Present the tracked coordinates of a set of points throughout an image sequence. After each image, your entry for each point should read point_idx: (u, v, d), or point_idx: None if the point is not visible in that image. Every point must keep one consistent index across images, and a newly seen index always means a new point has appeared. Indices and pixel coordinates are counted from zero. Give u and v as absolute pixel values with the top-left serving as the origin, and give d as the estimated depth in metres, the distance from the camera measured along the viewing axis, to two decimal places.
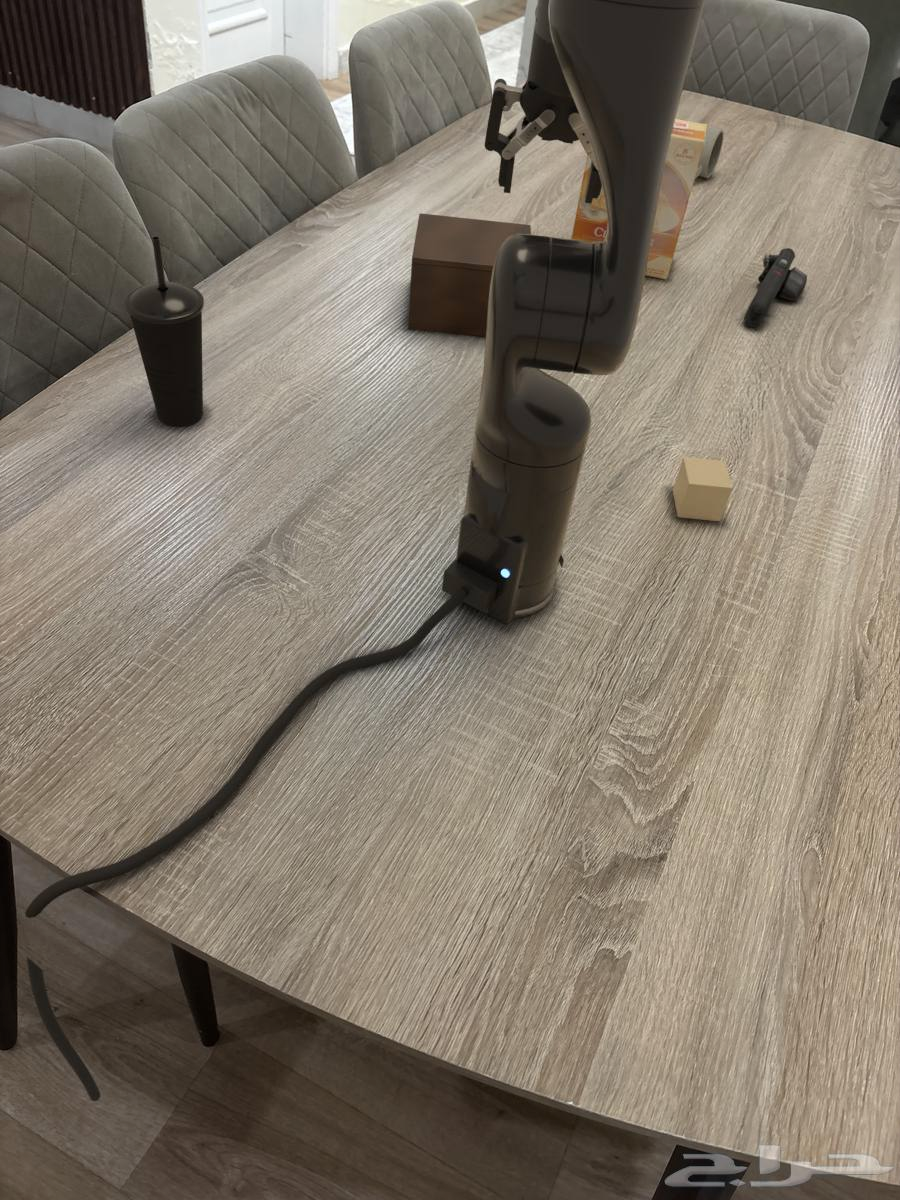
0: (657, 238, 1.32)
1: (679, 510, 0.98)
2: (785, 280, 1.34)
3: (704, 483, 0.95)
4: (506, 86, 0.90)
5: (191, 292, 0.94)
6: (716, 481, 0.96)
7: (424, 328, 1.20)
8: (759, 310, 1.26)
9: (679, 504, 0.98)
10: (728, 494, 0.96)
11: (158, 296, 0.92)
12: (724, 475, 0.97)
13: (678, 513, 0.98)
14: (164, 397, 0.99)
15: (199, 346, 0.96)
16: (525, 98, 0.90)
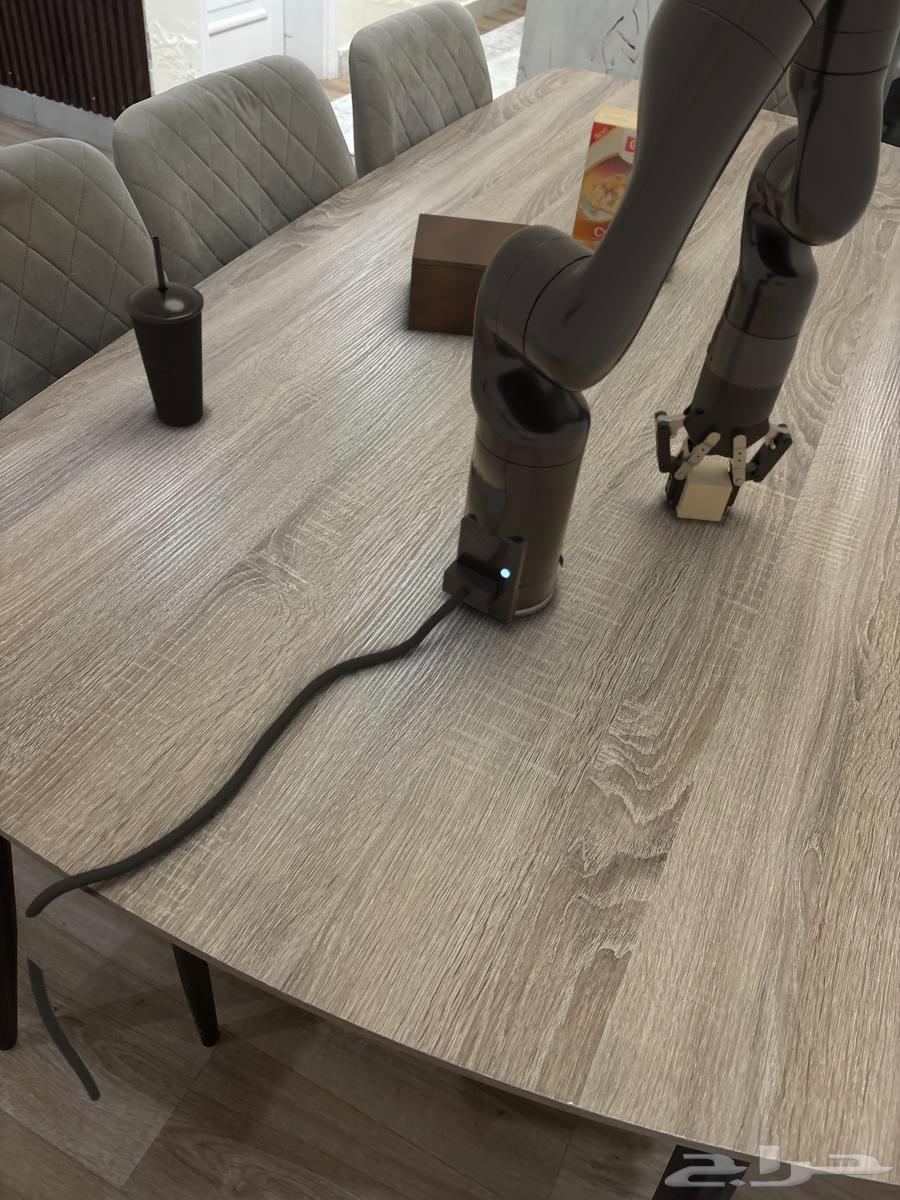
0: None
1: (679, 510, 0.98)
2: None
3: (704, 484, 0.95)
4: (667, 417, 0.92)
5: (191, 292, 0.94)
6: (716, 481, 0.96)
7: (424, 328, 1.20)
8: None
9: (679, 504, 0.98)
10: (728, 494, 0.96)
11: (158, 296, 0.92)
12: (724, 475, 0.97)
13: (678, 513, 0.98)
14: (164, 397, 0.99)
15: (199, 346, 0.96)
16: (689, 423, 0.91)
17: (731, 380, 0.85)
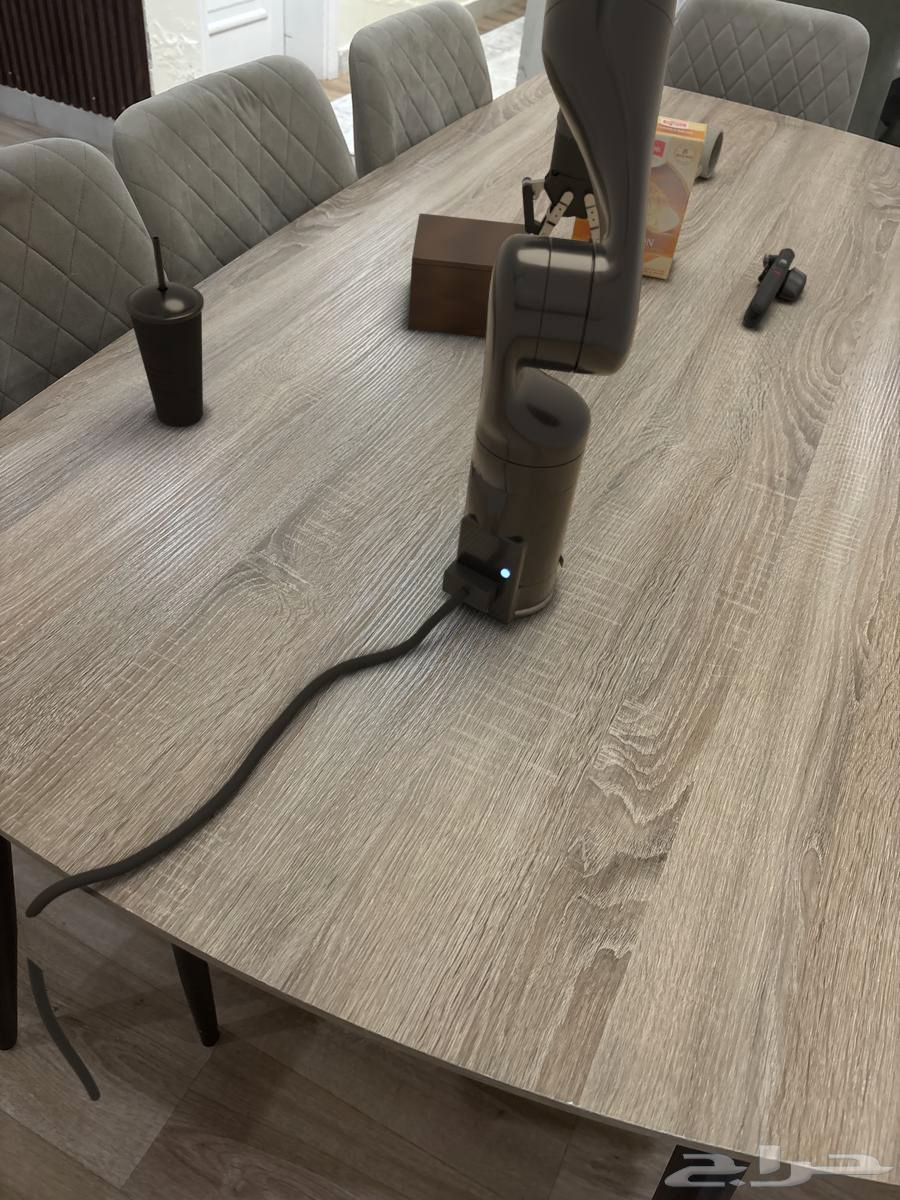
0: (657, 238, 1.32)
1: None
2: (785, 280, 1.34)
3: None
4: (531, 181, 1.12)
5: (191, 292, 0.94)
6: None
7: (424, 328, 1.20)
8: (758, 310, 1.26)
9: None
10: None
11: (158, 296, 0.92)
12: None
13: None
14: (164, 397, 0.99)
15: (199, 346, 0.96)
16: (548, 185, 1.12)
17: (573, 136, 1.06)
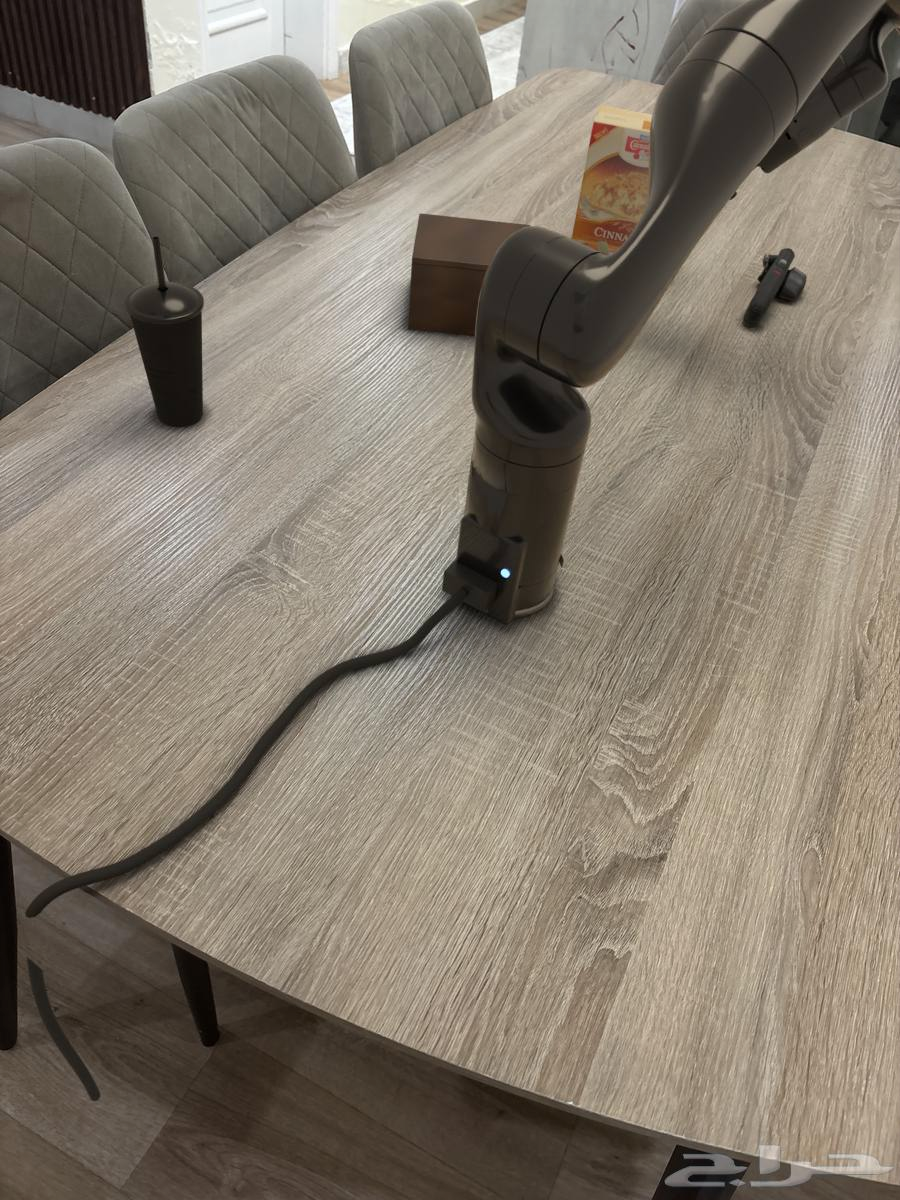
0: None
1: None
2: (784, 280, 1.34)
3: None
4: None
5: (191, 292, 0.94)
6: None
7: (424, 328, 1.20)
8: (758, 310, 1.26)
9: None
10: None
11: (158, 296, 0.92)
12: None
13: None
14: (164, 397, 0.99)
15: (199, 346, 0.96)
16: None
17: None
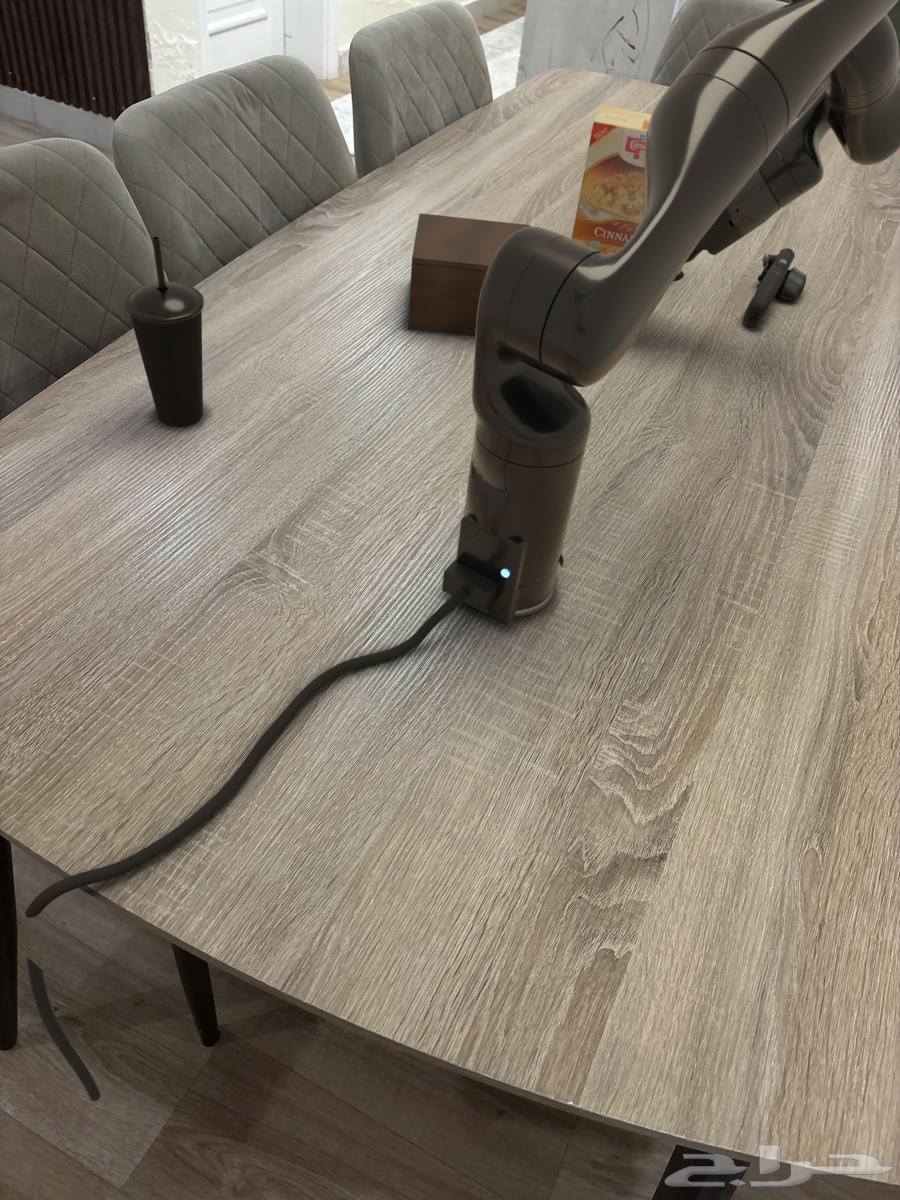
0: None
1: None
2: (784, 280, 1.34)
3: None
4: None
5: (191, 292, 0.94)
6: None
7: (424, 328, 1.20)
8: (758, 310, 1.26)
9: None
10: None
11: (158, 296, 0.92)
12: None
13: None
14: (164, 397, 0.99)
15: (199, 346, 0.96)
16: None
17: None
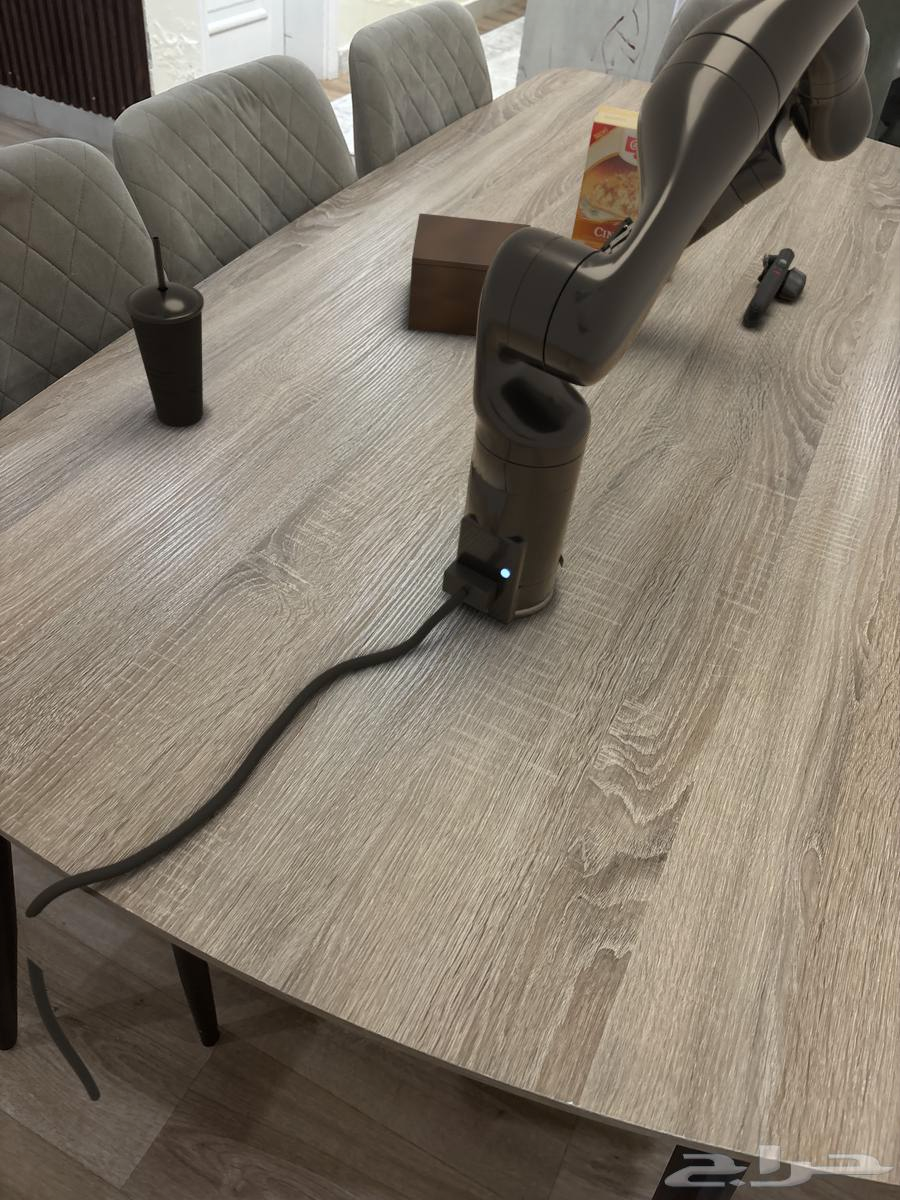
0: None
1: None
2: (784, 280, 1.34)
3: None
4: None
5: (191, 292, 0.94)
6: None
7: (424, 328, 1.20)
8: (758, 310, 1.26)
9: None
10: None
11: (158, 296, 0.92)
12: None
13: None
14: (164, 397, 0.99)
15: (199, 346, 0.96)
16: None
17: None
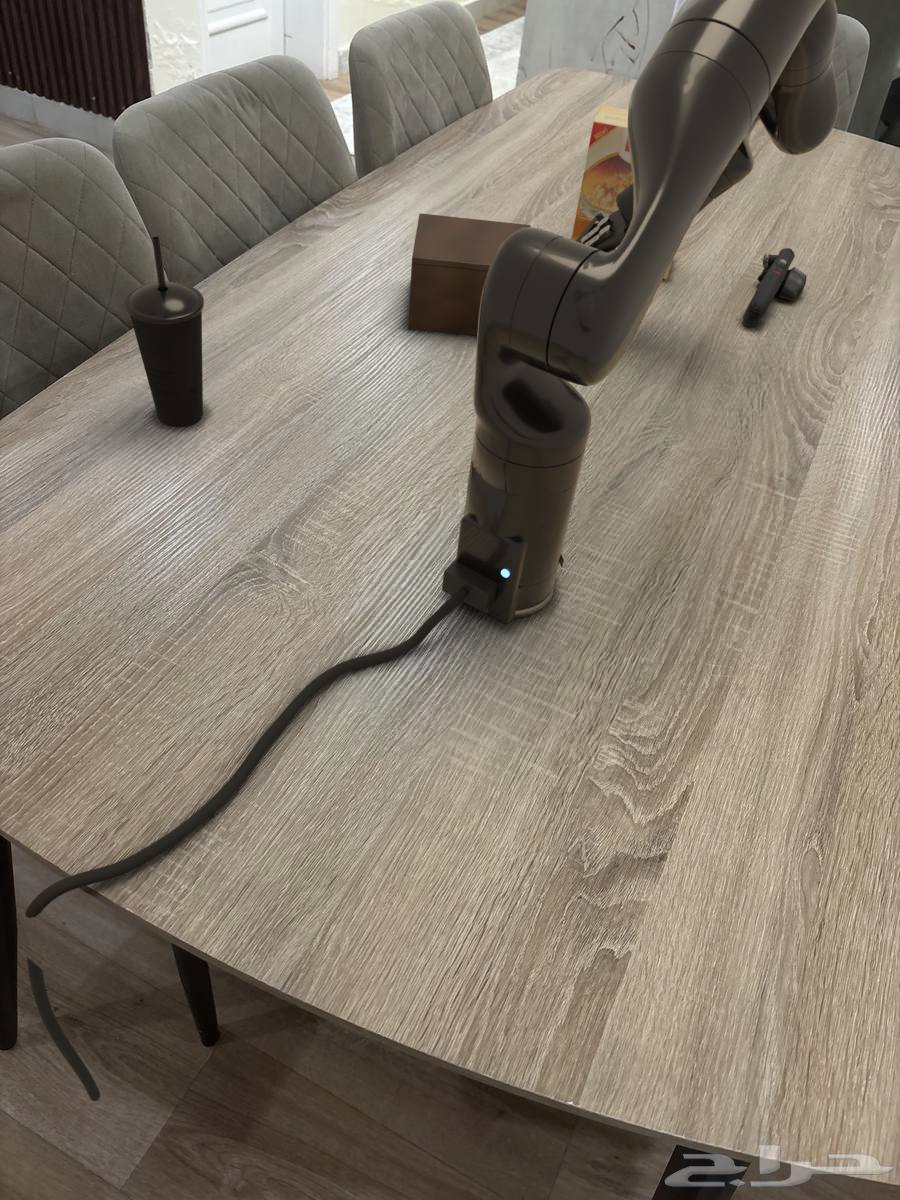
0: None
1: None
2: (784, 280, 1.34)
3: None
4: None
5: (191, 292, 0.94)
6: None
7: (424, 328, 1.20)
8: (758, 310, 1.26)
9: None
10: None
11: (158, 296, 0.92)
12: None
13: None
14: (164, 397, 0.99)
15: (199, 346, 0.96)
16: (610, 214, 1.18)
17: None
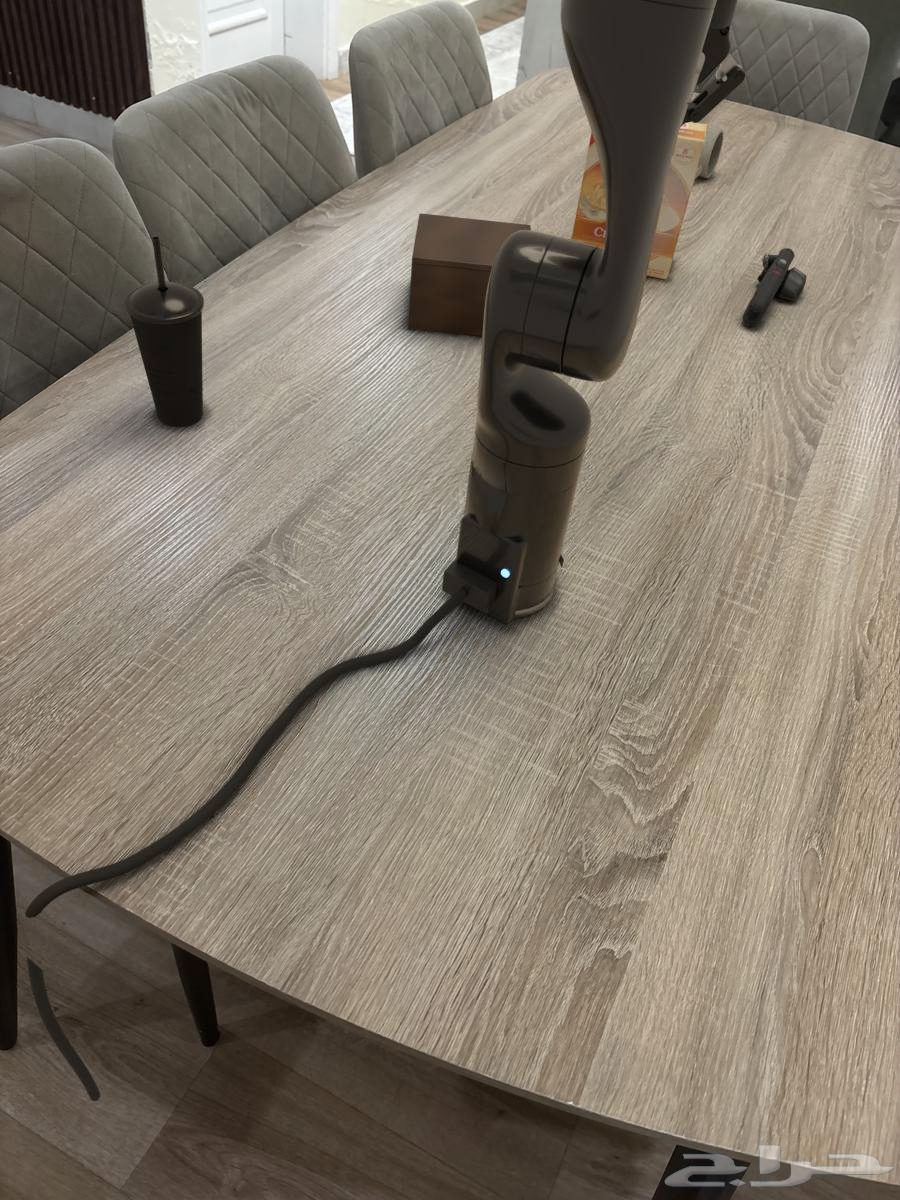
0: (657, 238, 1.32)
1: None
2: (784, 280, 1.34)
3: None
4: None
5: (191, 292, 0.94)
6: None
7: (424, 328, 1.20)
8: (757, 310, 1.26)
9: None
10: None
11: (158, 296, 0.92)
12: None
13: None
14: (164, 397, 0.99)
15: (199, 346, 0.96)
16: None
17: None
